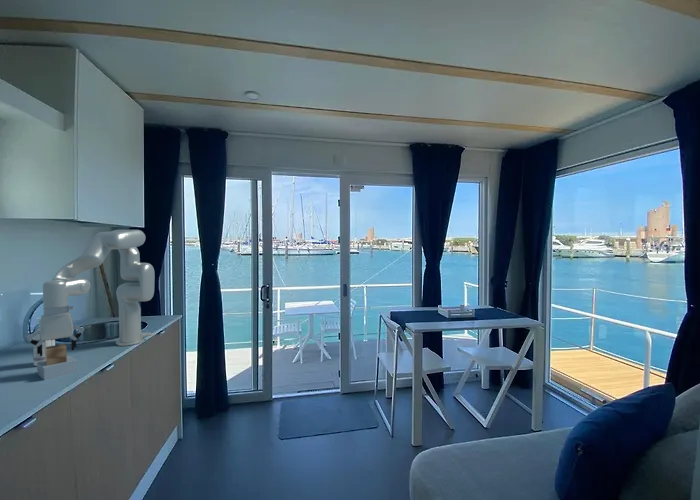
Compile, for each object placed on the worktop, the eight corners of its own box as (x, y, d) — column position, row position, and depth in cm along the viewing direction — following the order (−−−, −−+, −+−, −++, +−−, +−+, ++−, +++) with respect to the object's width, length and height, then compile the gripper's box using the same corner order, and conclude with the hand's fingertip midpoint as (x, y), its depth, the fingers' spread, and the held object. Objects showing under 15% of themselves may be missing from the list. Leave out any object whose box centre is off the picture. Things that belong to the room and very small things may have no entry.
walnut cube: (65, 357, 135) (65, 343, 135) (66, 361, 131) (66, 347, 131) (46, 361, 131) (46, 346, 131) (46, 365, 127) (46, 350, 126)
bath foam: (50, 359, 145) (49, 316, 145) (58, 362, 143) (57, 317, 142) (30, 365, 139) (29, 319, 139) (38, 367, 136) (37, 321, 136)
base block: (69, 366, 138) (69, 355, 138) (77, 372, 132) (76, 360, 132) (37, 374, 130) (37, 362, 130) (44, 381, 124) (44, 368, 124)
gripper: (83, 306, 139) (84, 345, 140) (26, 312, 127) (27, 355, 128) (84, 309, 134) (85, 349, 134) (25, 315, 122) (26, 360, 122)
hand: (57, 352), depth 131 cm, fingers open, 9 cm apart
